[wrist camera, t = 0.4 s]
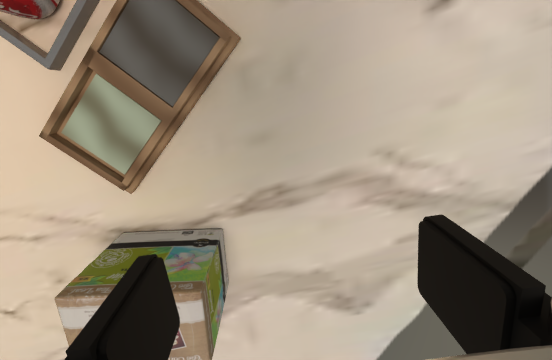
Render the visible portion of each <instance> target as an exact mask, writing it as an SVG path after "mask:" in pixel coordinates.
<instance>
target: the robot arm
mask: <svg viewBox="0 0 552 360" xmlns="http://www.w3.org/2000/svg"><path fill="white" fill-rule="evenodd" d="M545 287H546V286H545V285H544V284H543V283H541V282H540V281H538V280H537V279H535V278H534V277H532V276H531V275H530V274H528V273H527V272H525V271H524V270H522V269H521V268H519V267H518V266H516V265H515V264H514V263H512V262H511V261H509V260H508V259H506V258H505V257H503V256H502V255H501V254H499V253H498V252H496V251H495V250H493V249H492V248H490V247H489V246H487V245H486V244H484V243H483V242H482V241H480V240H479V239H477V238H476V237H474V236H473V235H471V234H470V233H469V232H467V231H466V230H464V229H463V228H461V227H460V226H458V225H457V224H456V223H454V222H453V221H451V220H450V219H448V218H447V217H445V216H444V215H435V216H428V217H425V218H424V219H423V221H421V222H420V223H419V240H418V289H419V292H420V294H421V295H422V297H423V298H424V299H425V301H426V302H427V303H428V304H429V306H430V307H431V308H432V310H433V311H434V312H435V313H436V315H437V316H438V317H439V318H440V320H441V321H442V322H443V324H444V325H445V326H446V328H447V329H448V330H449V332H450V333H451V334H452V335H453V337H454V338H455V339H456V340H457V342H458V343H459V344H460V346H461V347H462V348H463V350H464V351H465V352H466V354H465V355H457V356H450V357H442V358H435V359H427V360H552V297H550V296H549V295H548V294H546V293H545ZM179 327H180V317H179V313H178V309H177V306H176V302H175V299H174V295H173V292H172V288H171V285H170V281H169V278H168V274H167V271H166V267H165V264H164V261H163V258H162V257H158V256H157V255H156V254H150V255H143V256H138V257H137V258H136V260H135V261H134V262H133V264H132V265H131V266H130V268H129V269H128V270H127V271H126V273H125V274H124V275H123V277H122V278H121V279H120V281H119V282H118V283H117V285H116V286H115V287H114V289H113V290H112V291H111V292H110V294H109V295H108V296H107V298H106V299H105V300H104V302H103V303H102V304H101V306H100V307H99V308H98V310H97V311H96V312H95V313H94V315H93V316H92V317H91V319H90V320H89V321H88V323H87V324H86V325H85V327H84V328H83V329H82V331H81V332H80V333H79V334H78V336H77V337H76V338H75V340H74V341H73V342H72V344H71V345H70V346H69V348H68V349H67V350H66V354H67V357H66V358H65V360H168V358H169V355H170V352H171V350H172V347H173V344H174V341H175V338H176V336H177V333H178V330H179Z"/></svg>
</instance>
